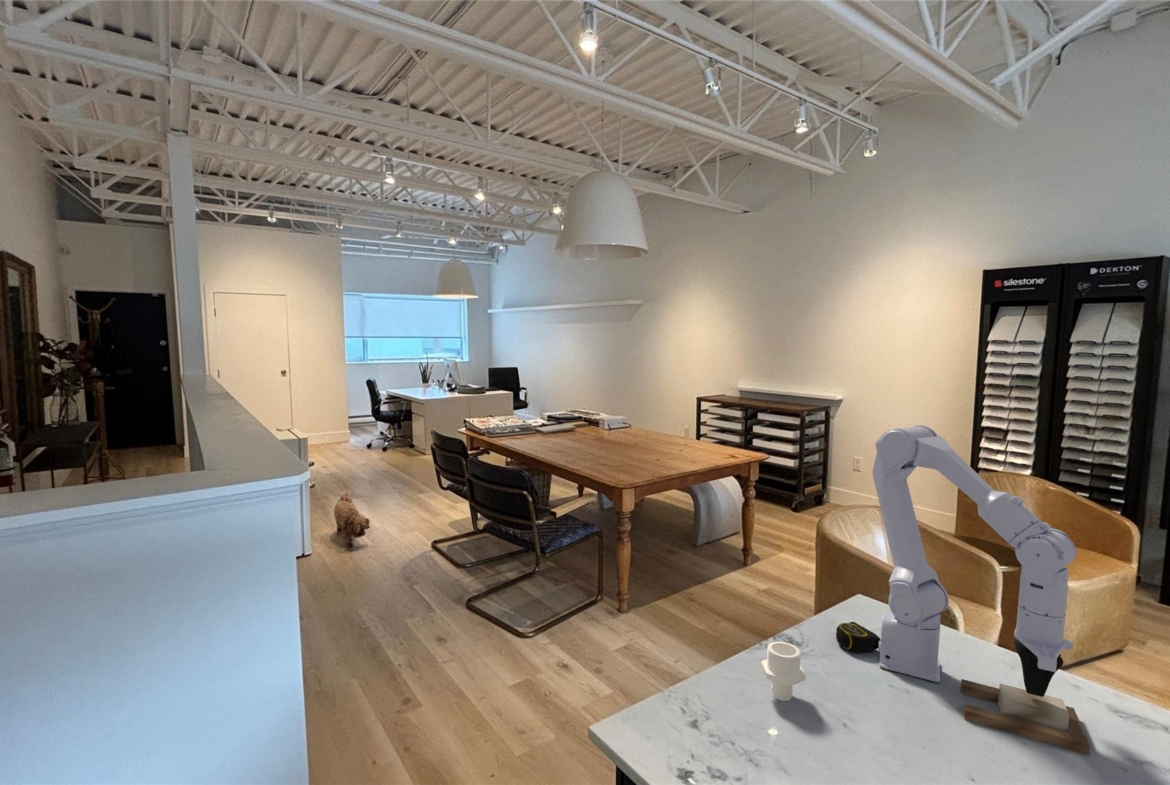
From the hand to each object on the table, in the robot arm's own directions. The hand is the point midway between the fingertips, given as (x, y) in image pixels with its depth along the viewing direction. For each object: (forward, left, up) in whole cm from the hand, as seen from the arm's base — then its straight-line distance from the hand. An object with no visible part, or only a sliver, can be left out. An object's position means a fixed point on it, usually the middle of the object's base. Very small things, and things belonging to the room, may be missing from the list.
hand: (1034, 692), depth 89 cm
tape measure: (-26, +11, -5) cm, 29 cm away
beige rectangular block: (0, 0, -5) cm, 5 cm away
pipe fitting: (-35, -14, -5) cm, 38 cm away
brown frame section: (-2, 0, -5) cm, 5 cm away
